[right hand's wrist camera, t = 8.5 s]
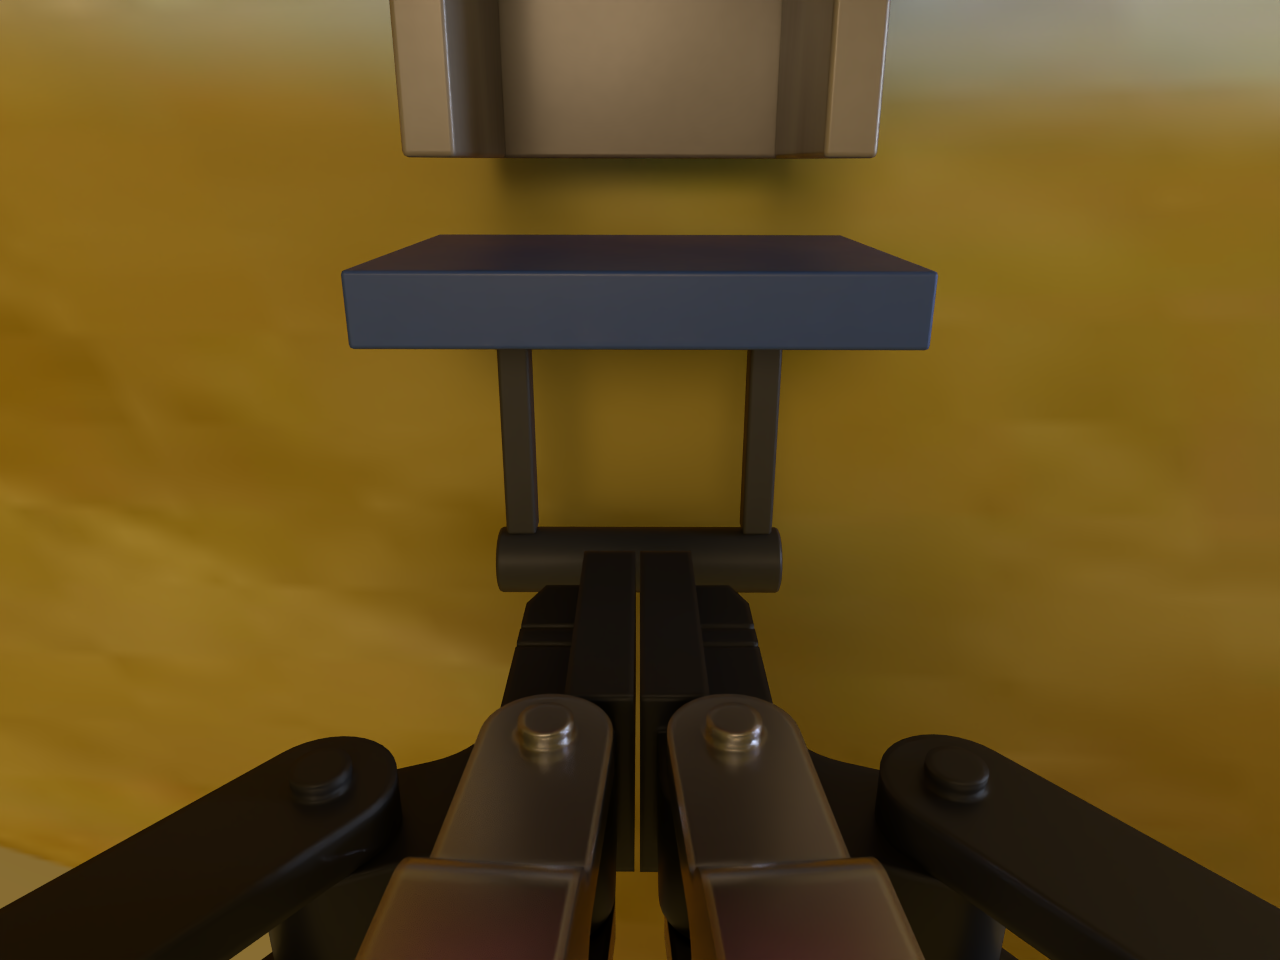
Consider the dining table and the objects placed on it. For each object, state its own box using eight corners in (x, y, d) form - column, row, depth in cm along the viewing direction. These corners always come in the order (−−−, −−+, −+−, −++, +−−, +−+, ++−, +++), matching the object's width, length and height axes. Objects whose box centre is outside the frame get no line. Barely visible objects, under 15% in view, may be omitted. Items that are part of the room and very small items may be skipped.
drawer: (819, 525, 22) (892, 673, 15) (459, 524, 22) (385, 672, 15) (905, -549, 15) (1097, -1068, 9) (378, -549, 15) (185, -1070, 9)
